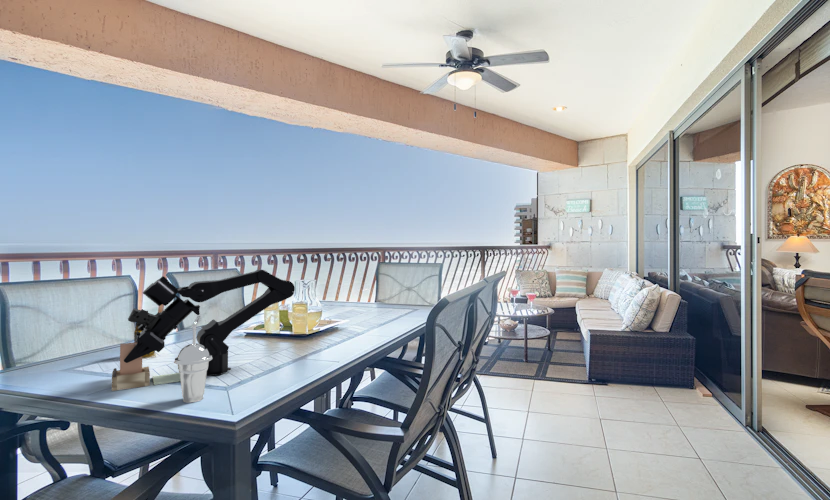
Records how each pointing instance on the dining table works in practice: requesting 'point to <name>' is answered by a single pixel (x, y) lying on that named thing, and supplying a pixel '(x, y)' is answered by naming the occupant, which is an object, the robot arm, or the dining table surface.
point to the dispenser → (130, 379)
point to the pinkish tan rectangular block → (133, 365)
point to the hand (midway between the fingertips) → (125, 360)
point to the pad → (166, 378)
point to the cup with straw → (193, 369)
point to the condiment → (135, 340)
